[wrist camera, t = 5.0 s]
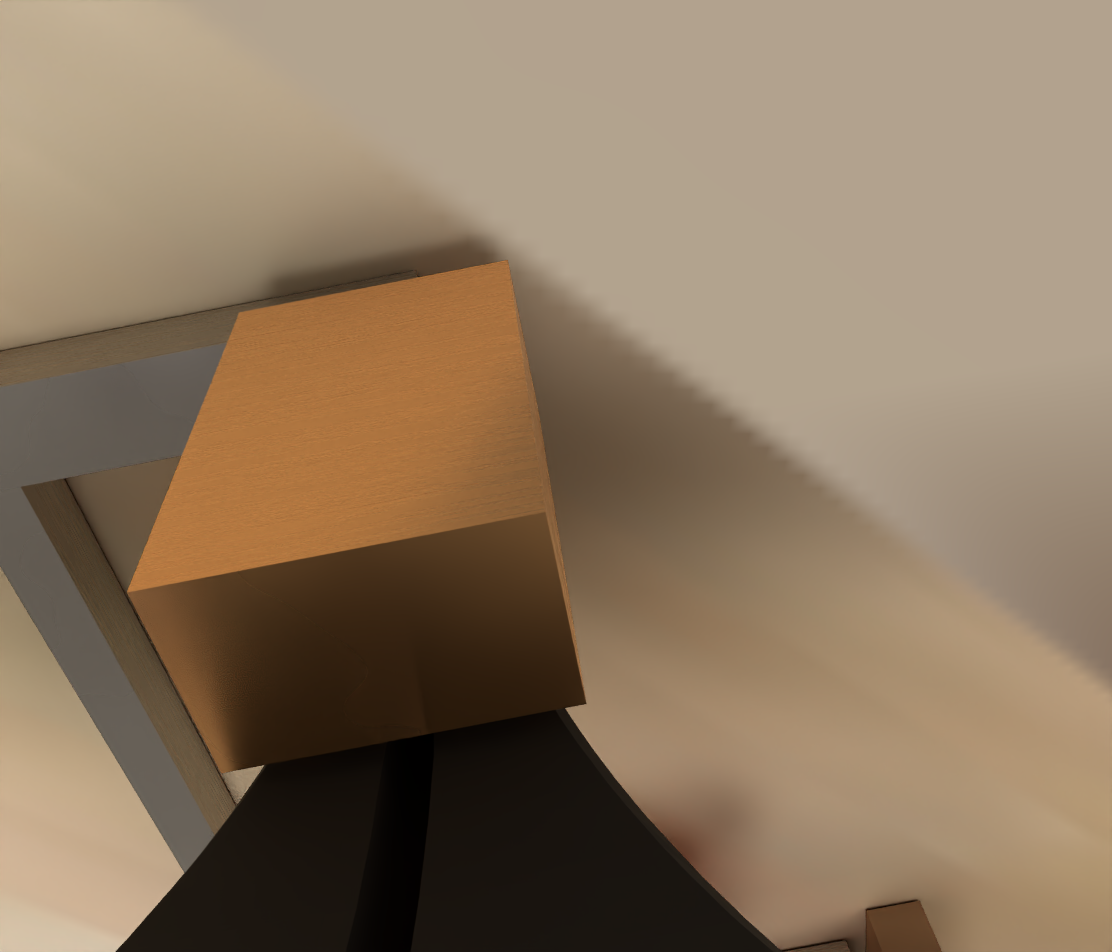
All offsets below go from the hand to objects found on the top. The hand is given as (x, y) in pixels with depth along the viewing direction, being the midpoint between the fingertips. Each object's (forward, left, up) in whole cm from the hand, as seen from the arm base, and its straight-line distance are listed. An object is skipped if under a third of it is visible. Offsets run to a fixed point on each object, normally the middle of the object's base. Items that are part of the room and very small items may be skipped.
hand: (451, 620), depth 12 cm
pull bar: (-4, 0, -2) cm, 5 cm away
